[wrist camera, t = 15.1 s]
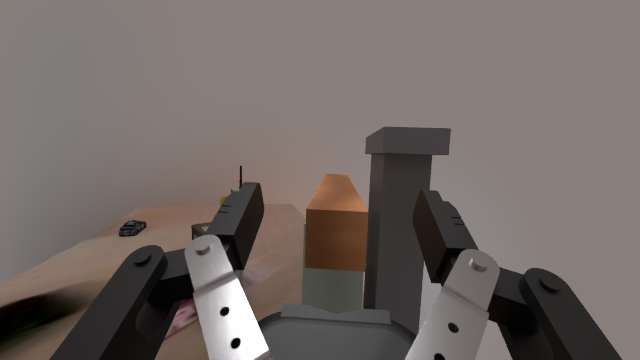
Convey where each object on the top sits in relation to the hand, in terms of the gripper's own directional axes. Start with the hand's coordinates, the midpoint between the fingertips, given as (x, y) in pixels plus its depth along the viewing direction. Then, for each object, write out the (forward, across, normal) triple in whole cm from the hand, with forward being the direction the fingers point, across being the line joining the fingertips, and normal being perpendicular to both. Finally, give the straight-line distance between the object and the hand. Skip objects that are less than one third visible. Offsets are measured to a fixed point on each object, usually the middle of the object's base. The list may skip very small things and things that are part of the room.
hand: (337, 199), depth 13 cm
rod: (+8, 0, +9) cm, 12 cm away
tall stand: (-2, -6, +30) cm, 31 cm away
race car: (+49, +72, +61) cm, 106 cm away
